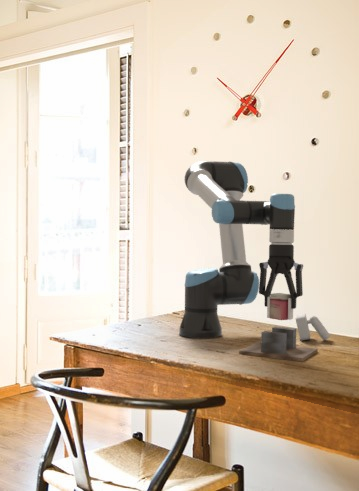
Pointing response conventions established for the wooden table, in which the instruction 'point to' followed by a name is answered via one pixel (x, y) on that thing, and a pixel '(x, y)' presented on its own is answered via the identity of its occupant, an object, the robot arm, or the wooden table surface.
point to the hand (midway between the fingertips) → (279, 318)
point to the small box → (279, 306)
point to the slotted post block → (279, 346)
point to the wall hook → (304, 329)
